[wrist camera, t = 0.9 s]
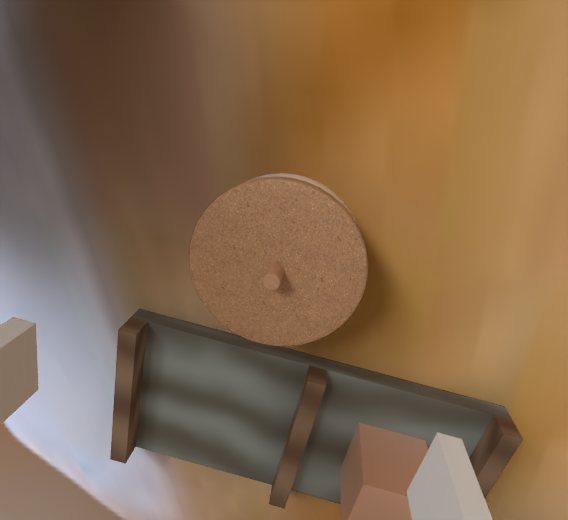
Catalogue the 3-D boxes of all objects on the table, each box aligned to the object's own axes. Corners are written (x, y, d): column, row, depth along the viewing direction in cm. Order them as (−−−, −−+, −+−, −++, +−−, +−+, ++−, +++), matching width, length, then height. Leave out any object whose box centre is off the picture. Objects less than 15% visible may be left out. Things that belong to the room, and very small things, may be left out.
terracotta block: (358, 422, 33) (363, 484, 28) (425, 440, 33) (443, 506, 28) (340, 469, 36) (340, 534, 30) (402, 486, 35) (414, 555, 30)
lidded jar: (331, 311, 31) (329, 386, 23) (209, 268, 32) (161, 328, 23) (383, 189, 27) (405, 225, 19) (243, 140, 27) (200, 154, 19)
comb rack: (139, 309, 34) (118, 329, 31) (504, 406, 33) (522, 439, 29) (128, 430, 40) (110, 459, 36) (439, 517, 38) (448, 554, 35)
